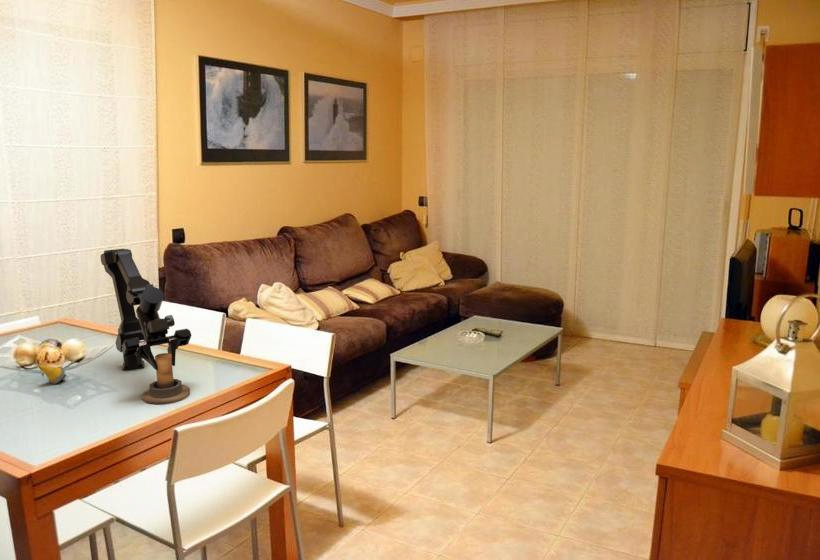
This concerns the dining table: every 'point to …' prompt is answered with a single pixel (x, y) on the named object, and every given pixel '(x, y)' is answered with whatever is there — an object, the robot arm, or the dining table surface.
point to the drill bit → (53, 373)
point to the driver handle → (164, 371)
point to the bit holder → (166, 393)
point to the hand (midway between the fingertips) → (165, 367)
